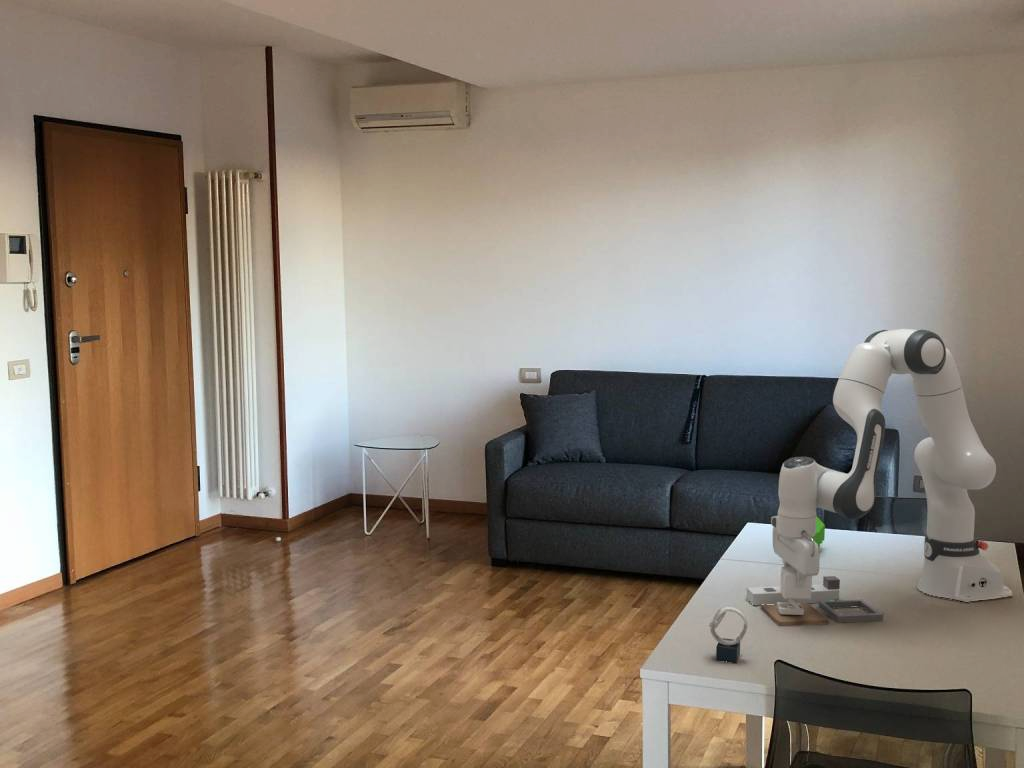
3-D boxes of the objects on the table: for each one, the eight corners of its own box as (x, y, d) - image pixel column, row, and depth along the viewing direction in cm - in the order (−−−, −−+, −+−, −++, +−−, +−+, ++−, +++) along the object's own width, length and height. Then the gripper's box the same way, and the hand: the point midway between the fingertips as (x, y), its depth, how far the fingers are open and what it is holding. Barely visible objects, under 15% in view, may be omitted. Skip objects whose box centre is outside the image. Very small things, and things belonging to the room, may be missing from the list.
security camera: (810, 615, 249) (812, 574, 248) (780, 614, 250) (781, 573, 249) (805, 607, 255) (807, 566, 254) (776, 606, 256) (777, 566, 255)
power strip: (832, 595, 268) (833, 574, 267) (846, 606, 260) (847, 584, 259) (746, 599, 265) (746, 578, 265) (757, 610, 257) (758, 588, 257)
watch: (710, 650, 231) (711, 601, 230) (748, 655, 229) (749, 605, 227) (706, 659, 226) (707, 610, 225) (745, 664, 223) (746, 614, 222)
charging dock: (861, 605, 261) (861, 598, 260) (882, 620, 250) (882, 613, 250) (818, 607, 259) (819, 600, 259) (837, 622, 248) (838, 615, 248)
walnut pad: (808, 606, 260) (808, 602, 259) (828, 623, 248) (828, 619, 248) (760, 609, 258) (760, 605, 258) (779, 626, 246) (779, 621, 246)
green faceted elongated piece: (821, 503, 315) (804, 522, 288) (835, 539, 314) (819, 562, 287) (785, 513, 320) (764, 533, 293) (798, 550, 319) (779, 573, 292)
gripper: (827, 537, 240) (825, 596, 242) (793, 515, 261) (791, 570, 262) (800, 538, 240) (798, 597, 241) (768, 516, 260) (766, 570, 261)
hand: (794, 583), depth 252 cm, fingers closed on security camera, 5 cm apart
